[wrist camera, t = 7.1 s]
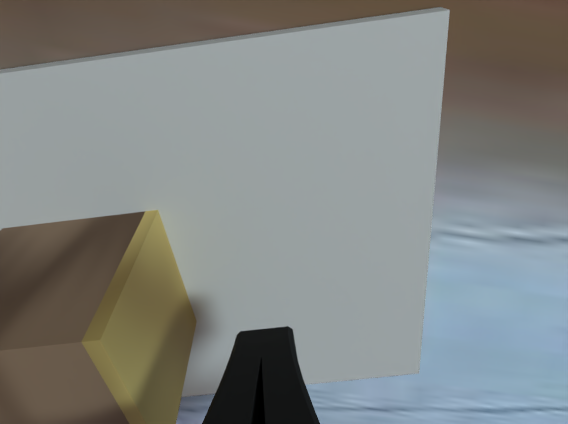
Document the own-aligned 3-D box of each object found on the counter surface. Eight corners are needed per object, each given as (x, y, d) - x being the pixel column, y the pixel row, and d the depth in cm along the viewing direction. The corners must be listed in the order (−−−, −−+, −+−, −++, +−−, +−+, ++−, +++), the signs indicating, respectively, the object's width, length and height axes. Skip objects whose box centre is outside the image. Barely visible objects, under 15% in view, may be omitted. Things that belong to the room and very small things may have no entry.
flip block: (196, 321, 15) (67, 335, 15) (158, 209, 13) (2, 228, 13) (167, 462, 11) (-10, 478, 11) (100, 340, 8) (-131, 364, 9)
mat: (-146, 417, 19) (-157, 430, 18) (-490, 139, 11) (-525, 147, 11) (414, 361, 18) (419, 373, 17) (441, 7, 10) (449, 9, 10)
